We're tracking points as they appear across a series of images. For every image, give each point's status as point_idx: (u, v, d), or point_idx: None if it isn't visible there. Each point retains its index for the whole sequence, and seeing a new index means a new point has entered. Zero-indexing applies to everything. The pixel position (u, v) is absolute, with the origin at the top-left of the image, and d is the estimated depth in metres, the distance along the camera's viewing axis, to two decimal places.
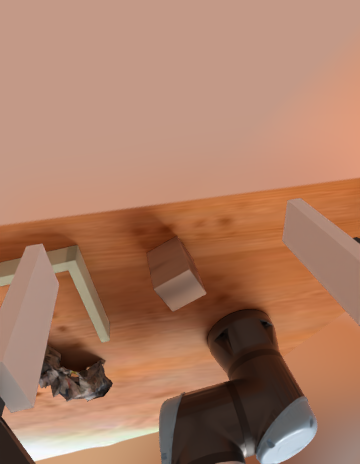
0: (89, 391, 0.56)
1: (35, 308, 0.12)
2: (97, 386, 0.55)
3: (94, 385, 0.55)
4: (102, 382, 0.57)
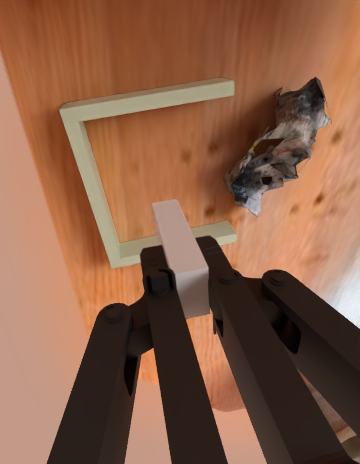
0: (301, 123, 0.34)
1: None
2: (293, 109, 0.32)
3: (287, 115, 0.33)
4: (295, 99, 0.33)
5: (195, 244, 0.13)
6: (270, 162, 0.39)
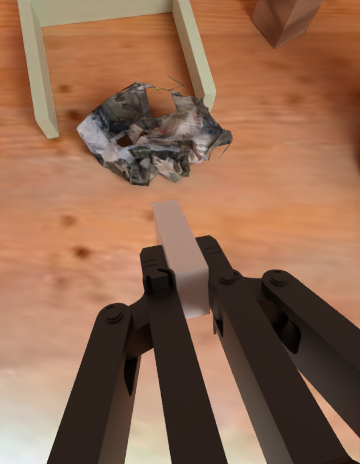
0: (195, 119, 0.33)
1: None
2: (204, 105, 0.33)
3: None
4: None
5: (195, 244, 0.13)
6: (144, 130, 0.35)
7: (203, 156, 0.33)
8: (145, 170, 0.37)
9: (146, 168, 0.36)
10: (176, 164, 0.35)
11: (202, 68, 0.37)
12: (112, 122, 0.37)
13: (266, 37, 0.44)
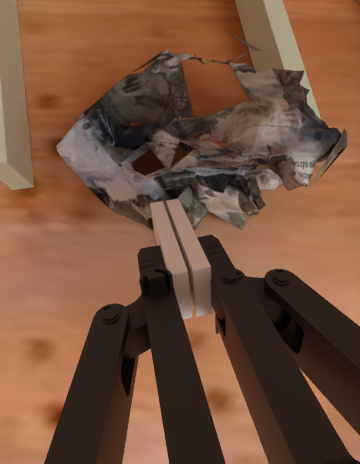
0: (287, 113, 0.17)
1: None
2: None
3: None
4: None
5: (197, 244, 0.13)
6: (183, 141, 0.19)
7: (308, 185, 0.17)
8: (186, 211, 0.21)
9: (188, 207, 0.20)
10: (246, 199, 0.19)
11: None
12: (120, 130, 0.21)
13: None
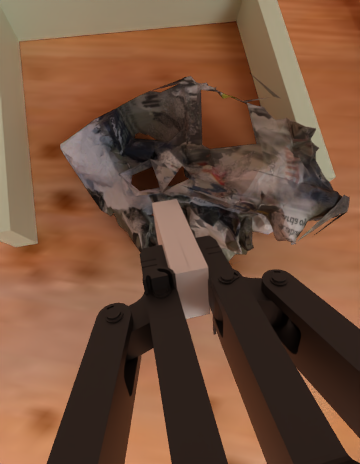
0: (290, 165, 0.17)
1: None
2: None
3: None
4: None
5: (195, 244, 0.13)
6: (185, 167, 0.19)
7: (293, 241, 0.16)
8: None
9: None
10: (233, 239, 0.19)
11: None
12: (132, 140, 0.22)
13: None
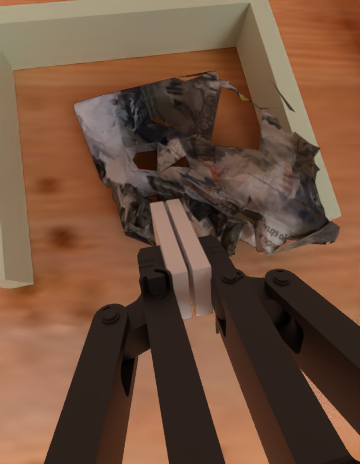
0: (285, 178, 0.16)
1: None
2: None
3: None
4: None
5: (198, 244, 0.13)
6: (188, 157, 0.19)
7: (269, 253, 0.16)
8: None
9: None
10: None
11: None
12: (147, 122, 0.22)
13: None
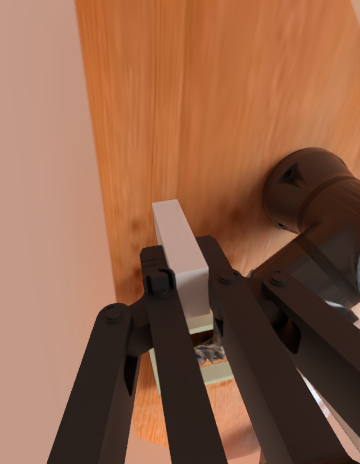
0: None
1: None
2: None
3: (218, 341, 0.60)
4: None
5: (195, 244, 0.13)
6: (202, 350, 0.66)
7: None
8: None
9: None
10: None
11: None
12: None
13: None
